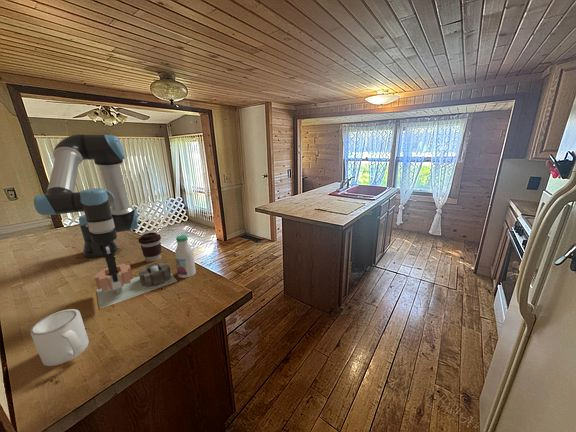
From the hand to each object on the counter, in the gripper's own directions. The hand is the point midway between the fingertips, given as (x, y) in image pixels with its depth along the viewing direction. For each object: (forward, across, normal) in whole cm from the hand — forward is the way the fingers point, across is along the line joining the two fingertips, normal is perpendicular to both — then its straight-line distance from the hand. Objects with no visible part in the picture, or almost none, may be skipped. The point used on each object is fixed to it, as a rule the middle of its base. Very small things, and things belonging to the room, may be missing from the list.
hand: (115, 281), depth 92 cm
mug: (+7, +23, -15) cm, 28 cm away
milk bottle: (+7, +4, +26) cm, 27 cm away
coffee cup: (+6, -23, +18) cm, 30 cm away
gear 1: (0, 0, 0) cm, 0 cm away
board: (+6, 0, +7) cm, 9 cm away
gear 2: (+5, 0, +14) cm, 15 cm away
